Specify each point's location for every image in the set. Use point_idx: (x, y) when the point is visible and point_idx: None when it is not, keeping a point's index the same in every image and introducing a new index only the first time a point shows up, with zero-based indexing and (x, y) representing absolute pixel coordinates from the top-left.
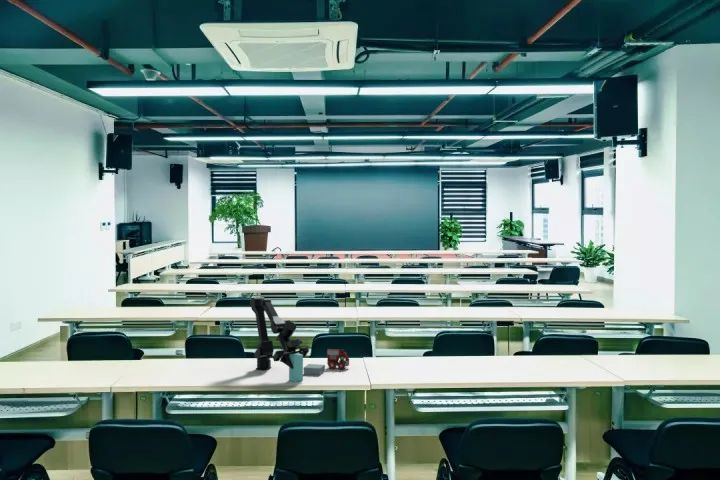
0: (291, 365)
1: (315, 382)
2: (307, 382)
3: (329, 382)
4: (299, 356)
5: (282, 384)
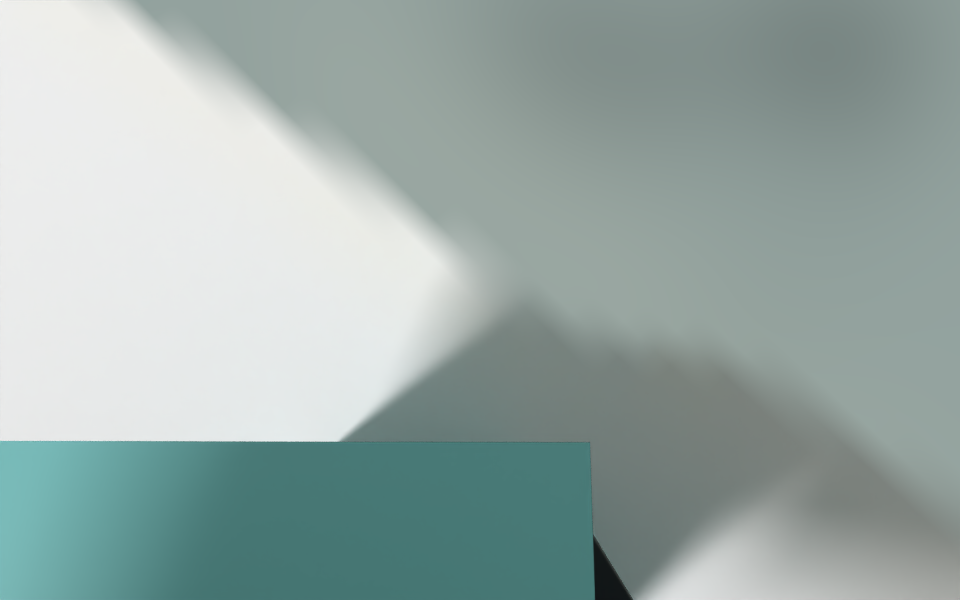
0: (617, 593)
1: (213, 188)
2: (330, 277)
3: (28, 46)
4: (112, 441)
5: (836, 444)
